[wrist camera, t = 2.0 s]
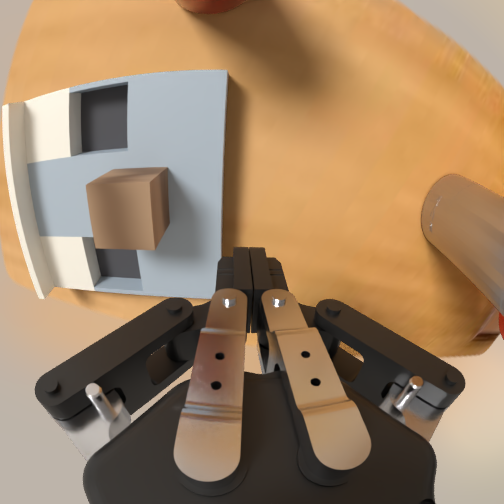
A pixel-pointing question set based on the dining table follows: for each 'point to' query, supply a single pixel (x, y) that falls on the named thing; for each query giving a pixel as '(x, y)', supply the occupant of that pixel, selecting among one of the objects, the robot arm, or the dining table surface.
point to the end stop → (23, 197)
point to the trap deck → (135, 156)
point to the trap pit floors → (104, 138)
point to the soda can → (209, 5)
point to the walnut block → (129, 208)
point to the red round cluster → (501, 324)
